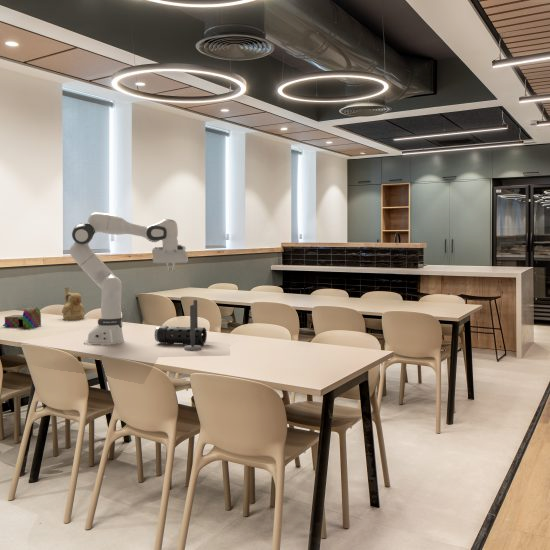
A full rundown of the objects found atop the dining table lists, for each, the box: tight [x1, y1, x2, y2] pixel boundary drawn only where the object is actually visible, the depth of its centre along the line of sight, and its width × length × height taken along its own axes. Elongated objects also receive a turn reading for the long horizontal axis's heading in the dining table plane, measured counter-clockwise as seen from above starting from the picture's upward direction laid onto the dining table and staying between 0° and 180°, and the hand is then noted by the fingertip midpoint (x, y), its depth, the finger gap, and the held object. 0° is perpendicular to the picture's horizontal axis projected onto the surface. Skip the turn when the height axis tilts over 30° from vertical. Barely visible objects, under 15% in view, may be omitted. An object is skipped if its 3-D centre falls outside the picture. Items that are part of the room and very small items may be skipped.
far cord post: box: [192, 299, 199, 328], centre depth 335 cm, size 9×9×24 cm
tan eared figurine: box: [61, 287, 85, 321], centre depth 424 cm, size 17×20×25 cm
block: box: [2, 307, 42, 330], centre depth 391 cm, size 25×17×14 cm
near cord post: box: [183, 304, 202, 352], centre depth 305 cm, size 9×9×24 cm
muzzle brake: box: [154, 325, 208, 346], centre depth 320 cm, size 10×28×10 cm, turn 78°
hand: (170, 270), depth 331 cm, fingers closed
